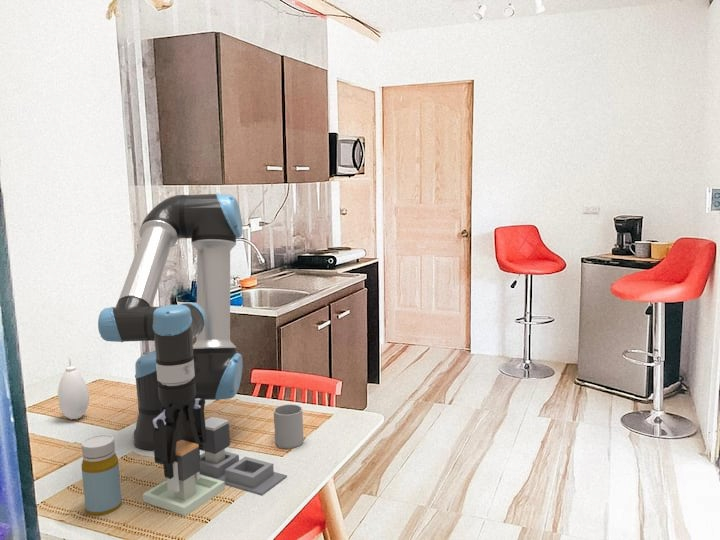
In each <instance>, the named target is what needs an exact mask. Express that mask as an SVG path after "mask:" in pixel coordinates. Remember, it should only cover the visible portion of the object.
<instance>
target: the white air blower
mask: <svg viewBox="0 0 720 540" xmlns="http://www.w3.org/2000/svg"><path fill="white" fill-rule="evenodd" d="M68 364H69V366H66V367H65V371H64V372H63V374H62V376H61V378H60V382H59V385H58V391H57V402H58V406H59V407H58V408H59V410H60V411H61V413H62V414H63V416H64V417H66V418H68V419H69V420H72V419H77V420H79V419H80V418H82V417H83V416H84V414H86V412H87V409H89V407H88V406H89V402H90V392H89V388H88V385H87V383H86V380H85V378H84V376H83V375H82V374H81V373H80V371H79V370H78V369H77V367H76V366H75V365H72V361H71V358H70V357H69V358H68ZM78 418H79V419H78Z"/></svg>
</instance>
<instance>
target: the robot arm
mask: <svg viewBox="0 0 720 540" xmlns="http://www.w3.org/2000/svg"><path fill="white" fill-rule="evenodd" d="M242 220H243V219H242V215H241V210H240V206H239V203H238V200H237V198H236V197H235V196H234V195H232V194H224V193H223V194H220V193H207V194H177V195H173V196H170V197H167V198H166V199H164V200H162V201H160V202H159V203H158V204H156V206H154V207H152V209H151V210H150V212H149V213H147V215H145V217H144V219H143V220H142V223H141V225H140V228H139V232H138V233H139V237H140V240H139V243H138V246H137V248H136V252H135V255H134V257H133V259H132V262H131V264H130V268H129V270H128V273H127V276H126V279H125V281H124V284H123V286H122V289H121V293H120V295H119V297H118V300H117V302H116V304H115V306H114V307H113V306H111V307H105V308H103V309H102V310H101V311H100V313H99V315H98V321H97V328H98V333H99V335H100V338H101V339H102V340H103V341H105V342H118V343H119V342H120V343H124V342H145V341H151V342H154V349H155V350H153V351H150V352H148V353H145V354H142V355H141V356H140V357H138V358H137V360H136V361H135V363H134V366H135V370H134V371H135V373H134V374H135V375H134V378H135V384H136V385H135V386H136V397H137V407H138V415H137V420H136V424H135V429H134V430H133V437H132V438H133V443H134V445H135V447H137V448H139V449H141V450H147V451H153V455H154V456H153V457H154V462H155V463H156V464H160V465H162V466H163V475H164V477H165V479H166V480H167V489H168V490H170V491H173V492H176V493H177V492H179V491H180V490H179V476H178V462H176V461H174V459H175V451H176V443H177V442H178V441H180V440H185V441H188V442H192V443H196V444H199V459H200V455H201V453H200V452H201V451H202V449H203V447H204V445H201V444H202V443H205V442H206V428H205V420H206V419H205V418H206V417H205V406H206V405H205V404H206V401H209V400H210V401H219V400H230V399H233V398H234V397H236V396H237V394H238V391H239V389H240V385H241V380H242V374H243V355H242V354H241V353H239V352H237V345H235V344H234V343H233V342H232V341H231V251H232V249H233V248H234V247H236V245H237V239H239V238H242V236H243V221H242ZM180 239H191V242H190V243H191V244H190V245H192V246H193V247H194V248H195V250H196V252H197V253H196V254H197V255H196V257H197V260H196V261H197V262H196V303H195V302H191V301H190V302H183V303H182V304H169V305H163V306H153V305H154V301H155V298H156V296H157V295H156V294H157V292H158V289H159V285H160V282H161V280H162V276H163V273H164V270H165V266H166V264H167V261H168V258H169V254H170V251H171V248H173V247H174V246H175V245H176V244H177V243H178V240H180ZM195 338H196V341H195V342H194V340H195ZM200 435H201V436H200ZM194 477H195V479H196V480H198V479H200V473H199V472H198V473H196V474H194Z"/></svg>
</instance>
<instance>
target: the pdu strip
mask: <svg viewBox="0 0 720 540" xmlns="http://www.w3.org/2000/svg"><path fill="white" fill-rule="evenodd" d="M205 428H206V442H205V443H202V444H201V445H204V447H203V449H202V450H201V452H202V451H203V453H202V454H201V453H200V471H199V473H200V475H204V476H207V477H211V478H214V479H217V480H221V481H224V482H225V486H228V487H230V488H231V487H232V488H235V489H239V490H242V491H246V492H249V493H252V494H256V495H259V496H263V495H265V494H266V493H268V492H269V491H270V490H272V489H273V488H274V487H276V486H277V485H279V484H280V483H281V482H283V481H284V480H285V479H286V478H287V477H288V475H287V474H283V473H280V472H276V471H274V463H272V462H267V461H265V460H260V459H256V458H253V457H249V456H244V457H243V458H241V459H240V454H237V453H233V452H230V451H226V448H228V447H230V446H231V439H230V421H229V420H228V419H224V418H220V417H215V416H211V417H209V418H207V419H205ZM200 436H201V435H200Z"/></svg>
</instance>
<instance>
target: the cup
mask: <svg viewBox="0 0 720 540" xmlns="http://www.w3.org/2000/svg"><path fill="white" fill-rule="evenodd" d="M303 415H304V414H303V407H302V406H300V405H298V404H282V405H279V406H276V407H274V408H273V423H274V424H273V427H274V442H275V445H276V446H277V447H279V448H281V449H287V450H288V449H294V448H298V447H300V446H301V445H303V443H304V419H303Z"/></svg>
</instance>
